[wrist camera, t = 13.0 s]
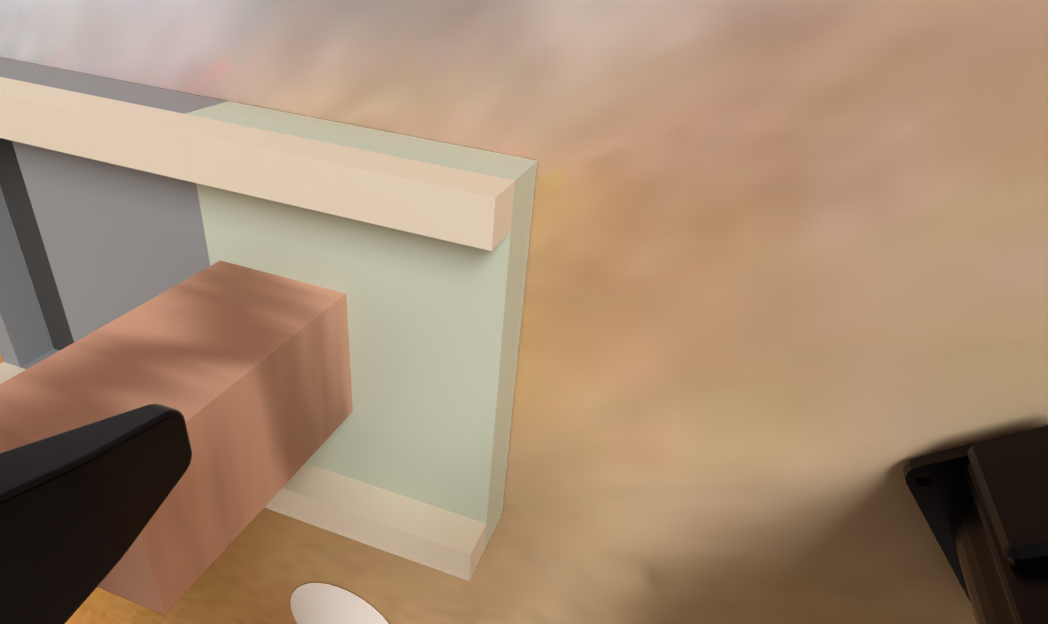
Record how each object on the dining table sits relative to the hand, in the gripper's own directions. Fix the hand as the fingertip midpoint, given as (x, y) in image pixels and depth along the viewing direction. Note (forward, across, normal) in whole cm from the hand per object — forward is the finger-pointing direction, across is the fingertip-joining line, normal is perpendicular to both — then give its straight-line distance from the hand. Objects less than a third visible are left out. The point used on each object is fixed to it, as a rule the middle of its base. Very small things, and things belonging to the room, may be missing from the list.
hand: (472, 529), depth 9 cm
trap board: (+13, +15, +7) cm, 21 cm away
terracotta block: (+11, +11, +7) cm, 17 cm away
